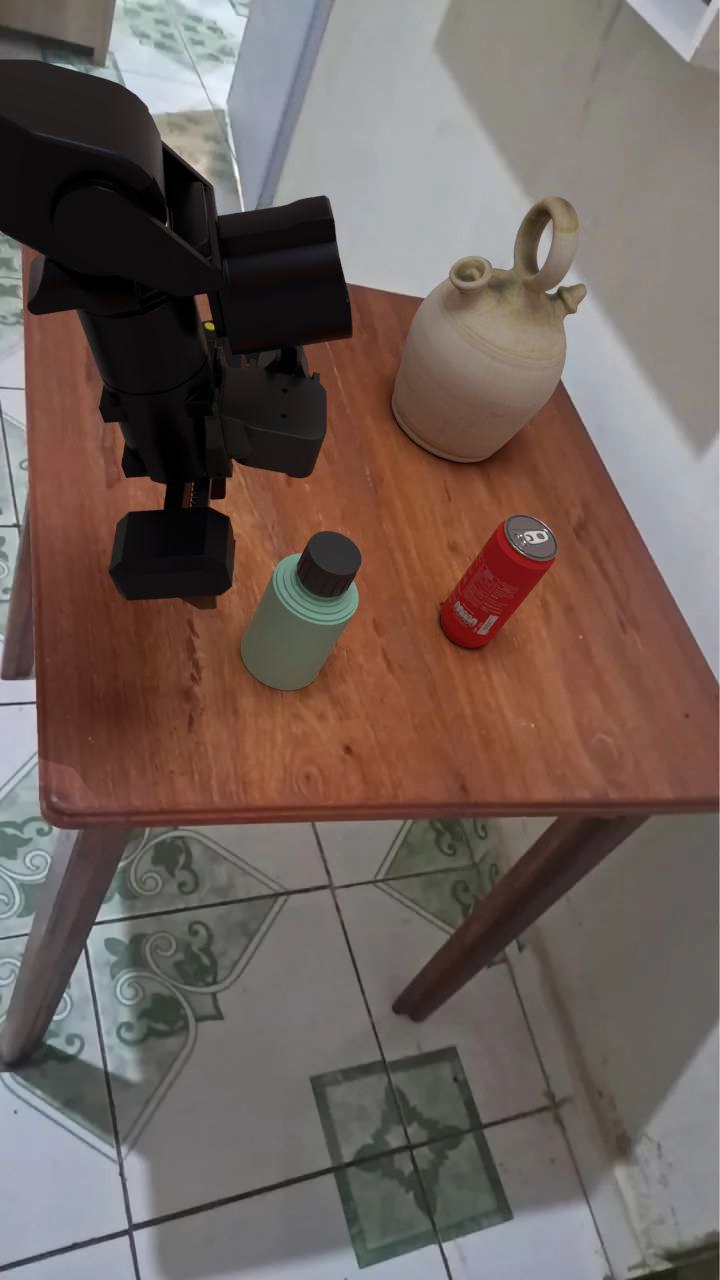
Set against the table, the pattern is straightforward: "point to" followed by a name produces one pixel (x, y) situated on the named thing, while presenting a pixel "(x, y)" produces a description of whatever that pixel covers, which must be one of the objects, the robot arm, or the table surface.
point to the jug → (489, 343)
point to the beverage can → (498, 580)
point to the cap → (328, 564)
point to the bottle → (294, 629)
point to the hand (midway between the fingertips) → (213, 550)
